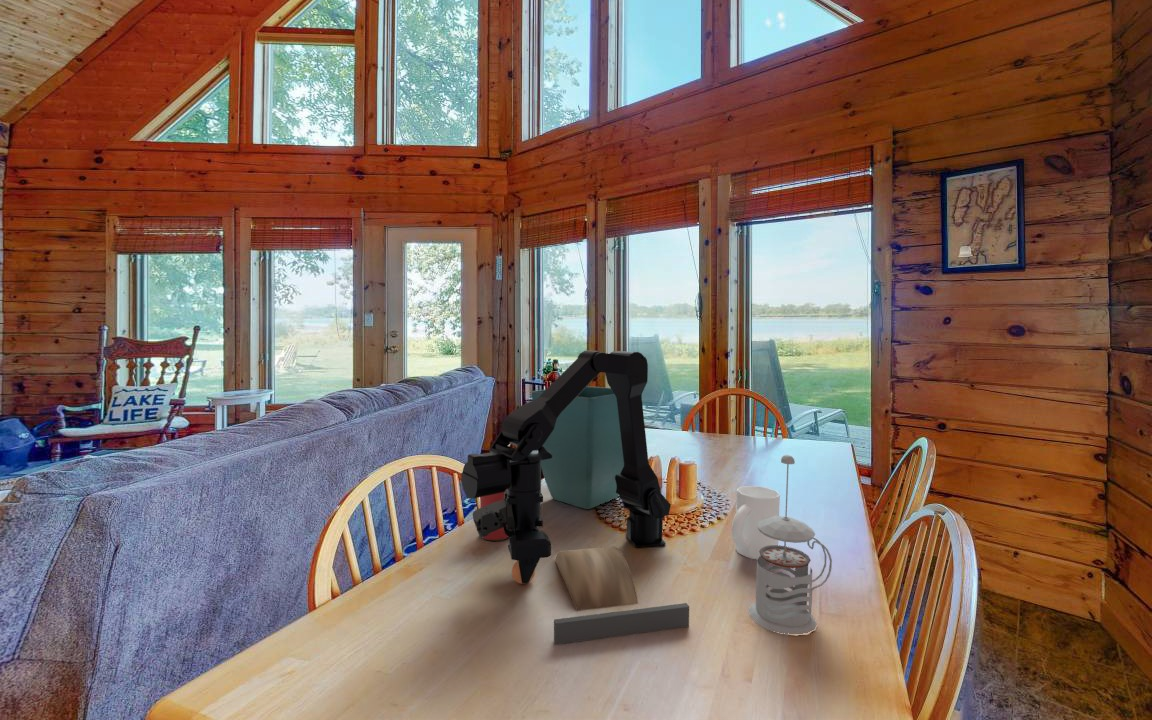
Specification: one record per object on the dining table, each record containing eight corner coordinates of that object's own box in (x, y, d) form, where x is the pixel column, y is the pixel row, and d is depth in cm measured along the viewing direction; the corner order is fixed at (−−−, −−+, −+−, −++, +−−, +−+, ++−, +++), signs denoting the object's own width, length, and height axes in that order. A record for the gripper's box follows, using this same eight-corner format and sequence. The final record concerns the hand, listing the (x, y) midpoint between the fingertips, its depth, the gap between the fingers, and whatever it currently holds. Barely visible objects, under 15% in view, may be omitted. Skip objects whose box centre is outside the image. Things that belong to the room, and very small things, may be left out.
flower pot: (528, 499, 129) (529, 390, 127) (579, 482, 144) (580, 384, 142) (588, 519, 115) (590, 397, 114) (637, 498, 130) (639, 390, 129)
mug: (714, 554, 98) (716, 494, 97) (748, 539, 105) (749, 483, 105) (752, 570, 91) (754, 505, 91) (785, 552, 99) (787, 493, 98)
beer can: (505, 543, 102) (505, 485, 101) (475, 540, 103) (475, 483, 102) (515, 531, 108) (516, 476, 107) (487, 528, 109) (487, 474, 109)
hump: (601, 635, 100) (602, 527, 99) (640, 718, 79) (643, 581, 77) (552, 642, 98) (553, 532, 96) (579, 729, 76) (581, 588, 75)
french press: (740, 599, 81) (744, 447, 80) (812, 601, 81) (818, 448, 80) (760, 635, 72) (766, 463, 70) (842, 638, 71) (850, 464, 70)
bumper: (685, 622, 74) (686, 603, 74) (688, 626, 73) (689, 606, 73) (553, 640, 70) (554, 619, 70) (555, 644, 69) (555, 623, 69)
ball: (533, 575, 88) (533, 553, 88) (536, 587, 84) (537, 563, 84) (510, 578, 87) (510, 555, 87) (513, 589, 83) (513, 566, 83)
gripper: (473, 474, 92) (473, 557, 93) (478, 509, 74) (478, 612, 75) (533, 471, 95) (533, 551, 96) (552, 504, 77) (551, 603, 77)
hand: (523, 576), depth 86 cm, fingers closed on ball, 4 cm apart
